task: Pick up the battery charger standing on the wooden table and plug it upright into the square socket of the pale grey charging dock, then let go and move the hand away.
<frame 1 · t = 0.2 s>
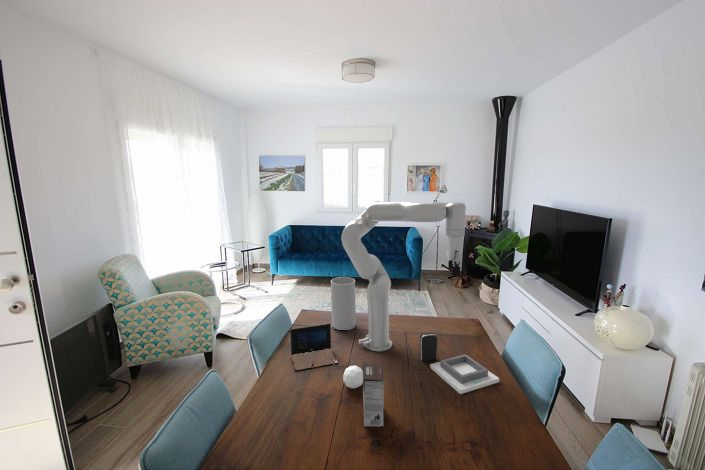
hand: (453, 272, 136), 36 cm above the table, tool pointing down, fingers open, 9 cm apart
cylinder vase: (343, 326, 169), on the table
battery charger: (427, 359, 136), on the table
coffee box: (373, 416, 103), on the table
charging dock: (463, 374, 125), on the table
geometric ball: (353, 386, 119), on the table
laptop: (314, 361, 137), on the table
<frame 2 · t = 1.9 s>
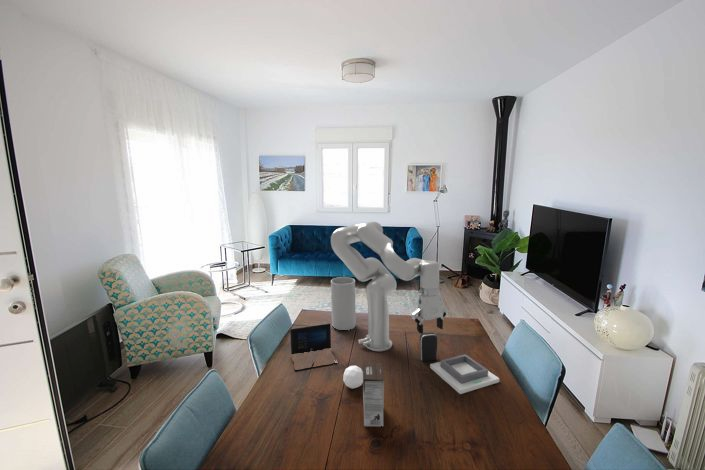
hand: (430, 330, 134), 13 cm above the table, tool pointing down, fingers open, 9 cm apart
nothing on the table moved.
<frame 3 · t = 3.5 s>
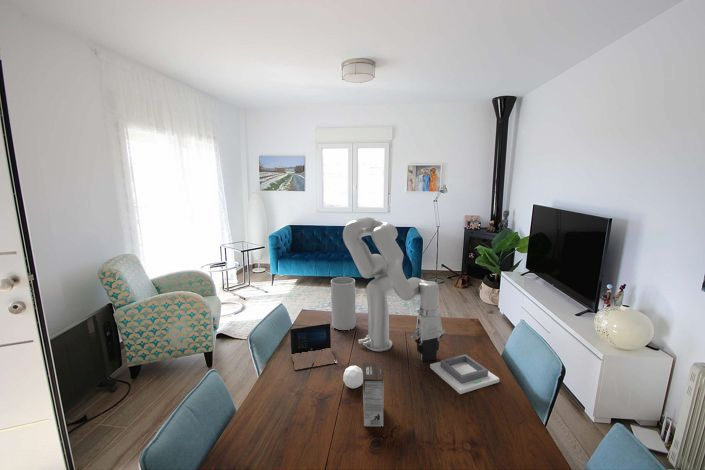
hand: (427, 350, 136), 4 cm above the table, tool pointing down, fingers closed on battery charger, 7 cm apart
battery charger: (427, 359, 136), on the table, touching gripper
everything else where it was.
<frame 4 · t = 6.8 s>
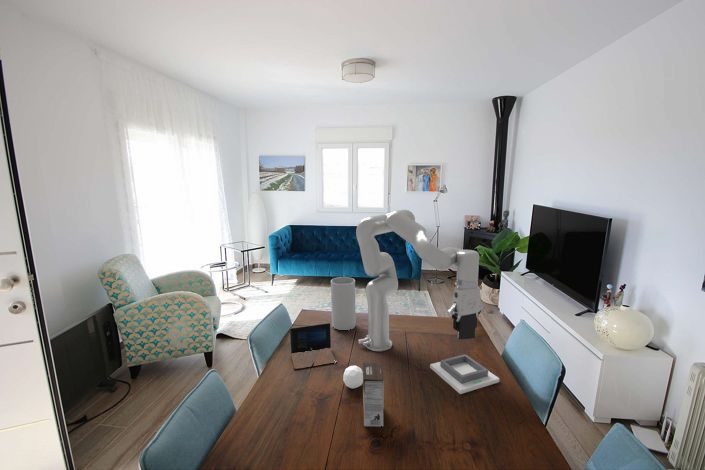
hand: (465, 327, 122), 19 cm above the table, tool pointing down, fingers closed on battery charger, 7 cm apart
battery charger: (464, 337, 122), point 15 cm above the table, touching gripper
everything else where it was.
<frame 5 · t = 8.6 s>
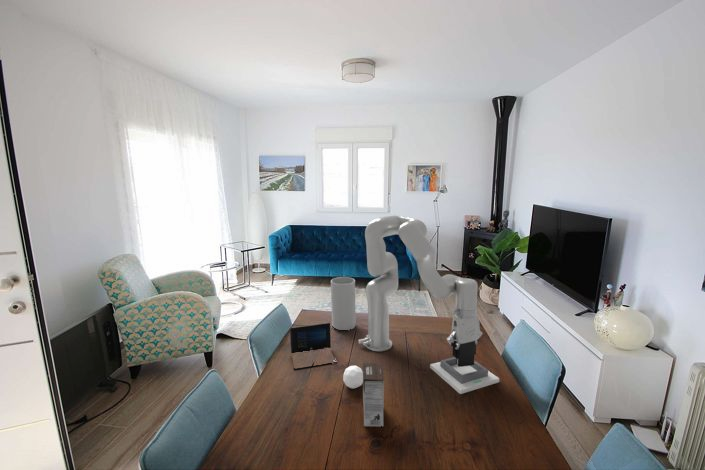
hand: (464, 354, 123), 8 cm above the table, tool pointing down, fingers closed on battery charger, 7 cm apart
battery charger: (464, 364, 124), point 4 cm above the table, touching gripper
when the fingers open (6 cm above the table, at t = 10.1 s): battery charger stays where it is, resting on charging dock.
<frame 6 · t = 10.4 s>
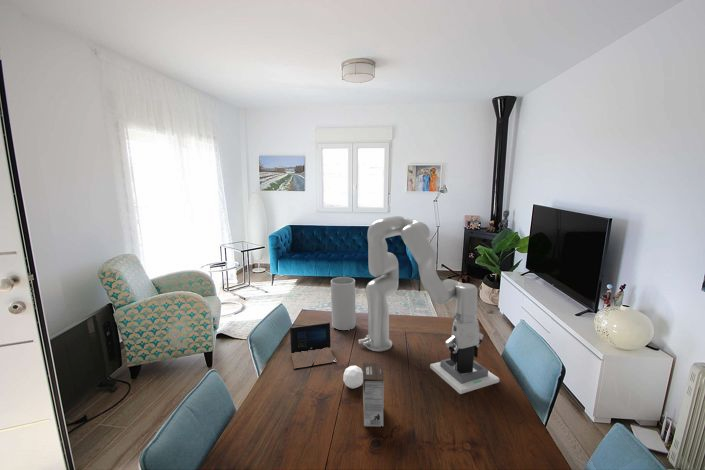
hand: (463, 358, 124), 7 cm above the table, tool pointing down, fingers open, 9 cm apart
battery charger: (462, 371, 125), point 1 cm above the table, touching charging dock
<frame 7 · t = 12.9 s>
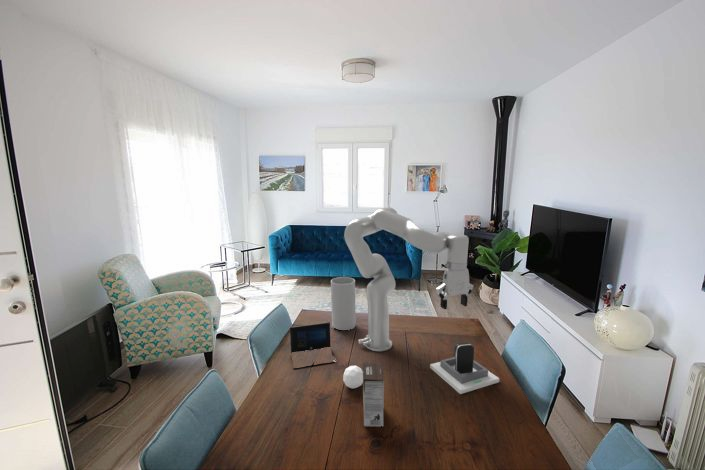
hand: (453, 306, 129), 24 cm above the table, tool pointing down, fingers open, 9 cm apart
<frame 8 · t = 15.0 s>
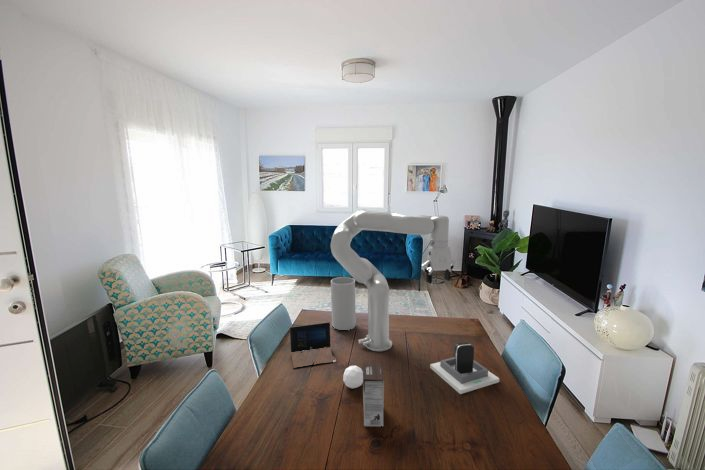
hand: (438, 281, 144), 30 cm above the table, tool pointing down, fingers open, 9 cm apart
at the end: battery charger 0.2 cm off-centre on the charging dock, point 1.3 cm above the charging dock's base; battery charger tilted 0°; the gripper is holding nothing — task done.
